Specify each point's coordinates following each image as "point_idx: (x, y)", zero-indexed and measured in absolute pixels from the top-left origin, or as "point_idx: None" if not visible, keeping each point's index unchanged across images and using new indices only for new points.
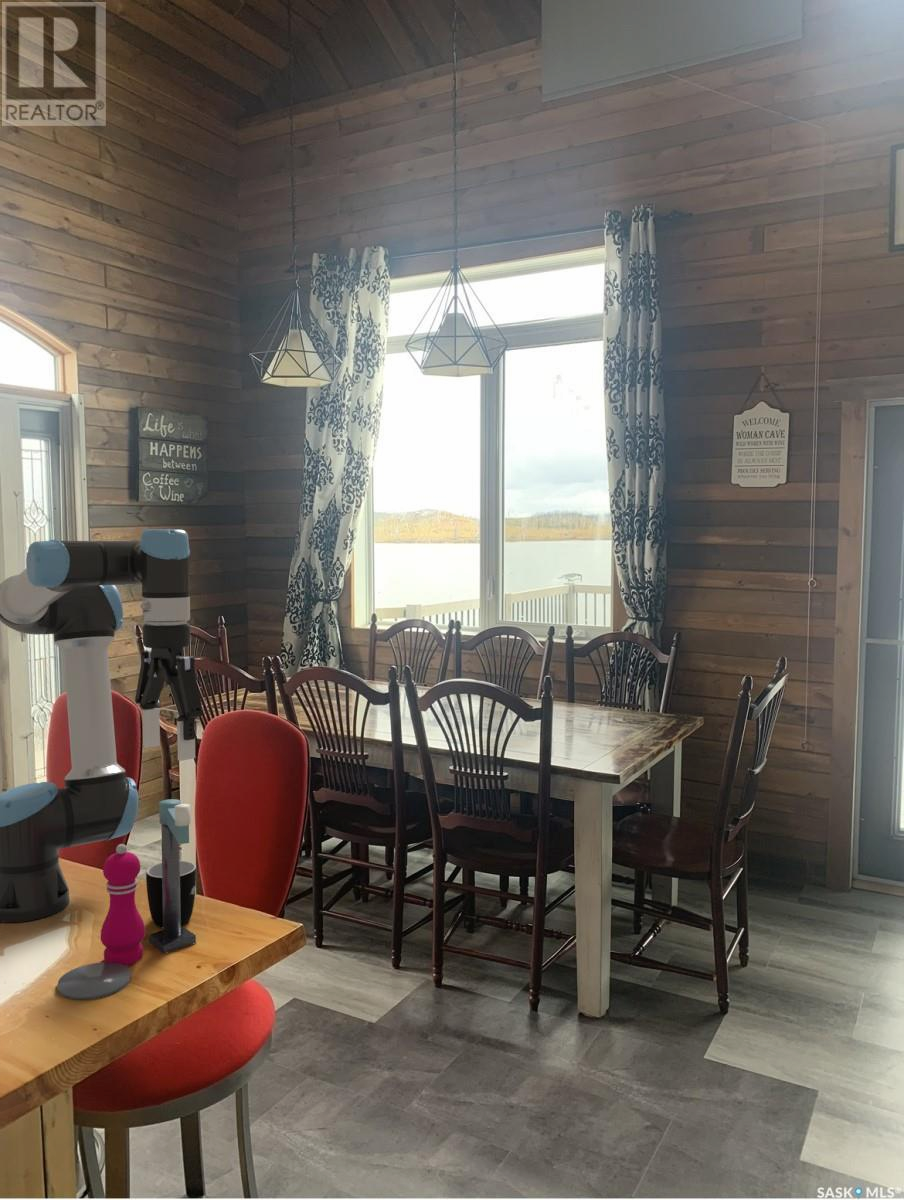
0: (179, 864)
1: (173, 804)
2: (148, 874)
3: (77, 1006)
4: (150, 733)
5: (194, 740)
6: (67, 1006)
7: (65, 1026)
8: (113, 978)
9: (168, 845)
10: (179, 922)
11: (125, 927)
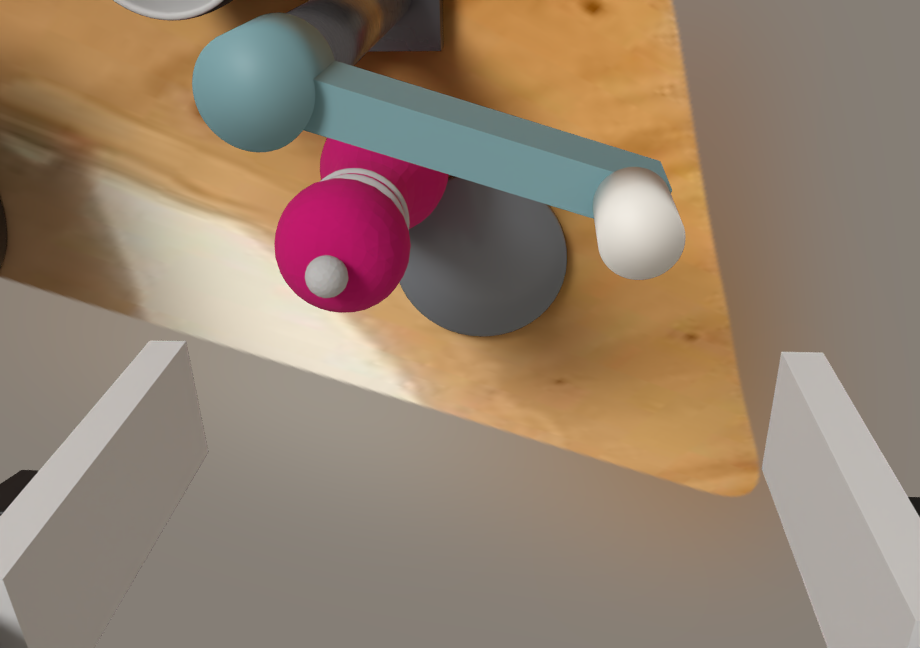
0: (355, 2)
1: (309, 99)
2: (167, 19)
3: (564, 325)
4: (155, 485)
5: (873, 449)
6: (548, 339)
7: (630, 373)
8: (515, 229)
9: None
10: None
11: (432, 196)
